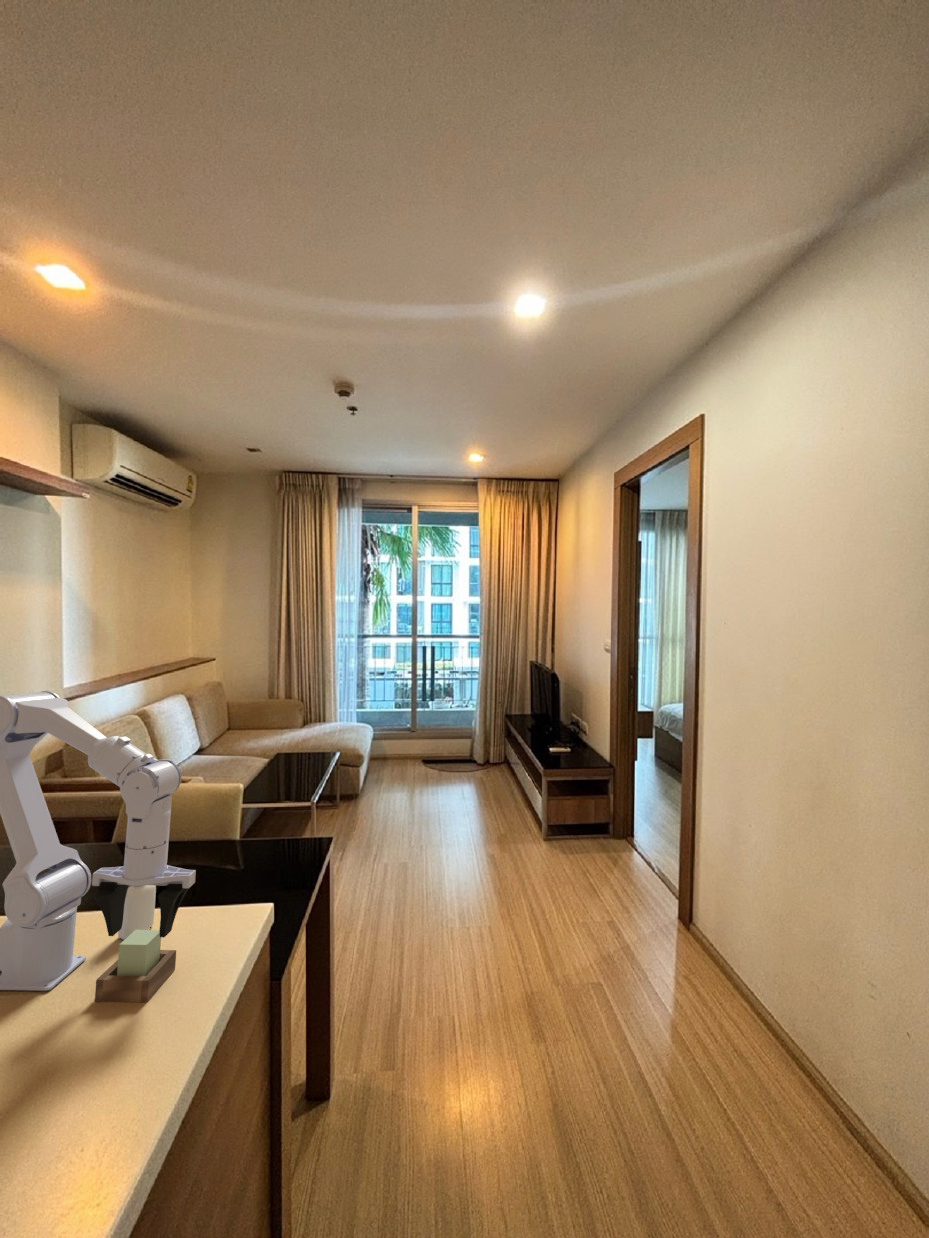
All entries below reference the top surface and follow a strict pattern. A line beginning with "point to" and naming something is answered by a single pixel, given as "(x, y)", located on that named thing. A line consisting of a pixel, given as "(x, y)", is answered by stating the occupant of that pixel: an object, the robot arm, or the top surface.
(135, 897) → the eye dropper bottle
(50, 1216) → the top surface
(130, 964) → the pale green block
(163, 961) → the socket block
